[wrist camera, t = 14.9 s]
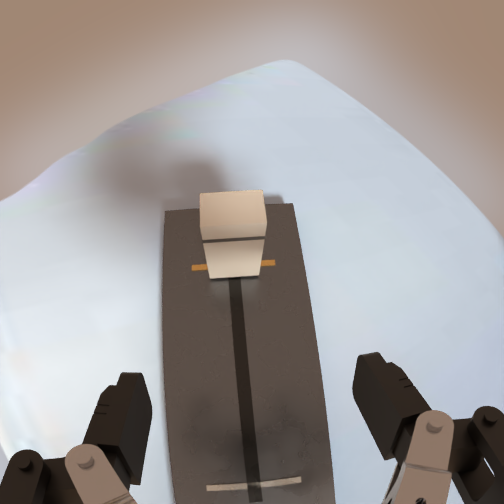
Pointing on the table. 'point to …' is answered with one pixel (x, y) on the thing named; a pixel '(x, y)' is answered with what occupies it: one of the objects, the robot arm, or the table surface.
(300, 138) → the table surface
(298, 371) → the grey fader track base
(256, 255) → the fader cap
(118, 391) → the robot arm
